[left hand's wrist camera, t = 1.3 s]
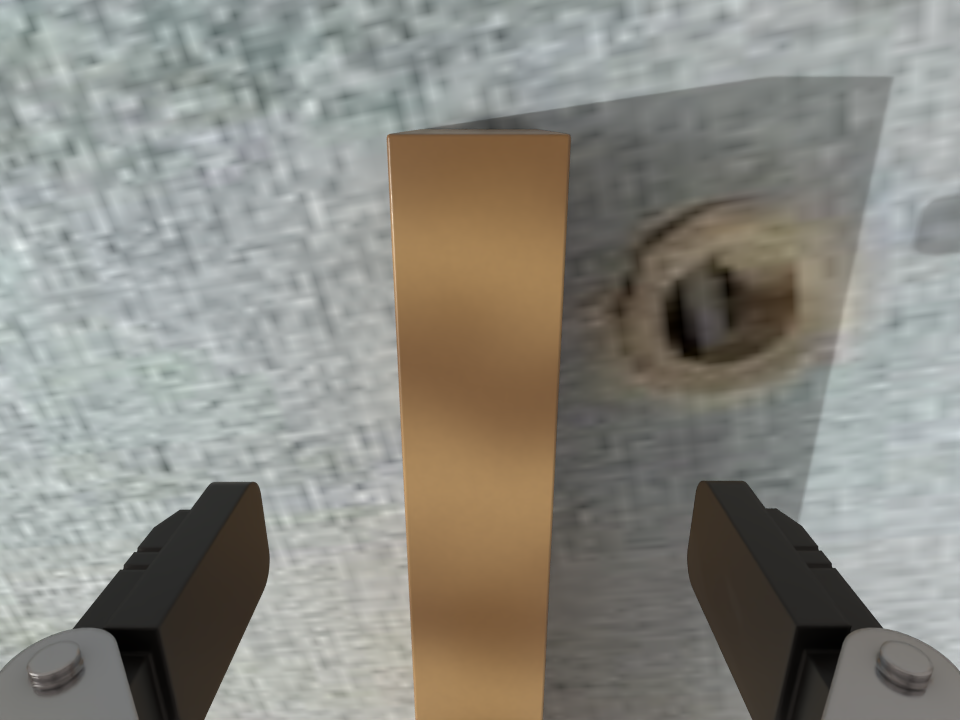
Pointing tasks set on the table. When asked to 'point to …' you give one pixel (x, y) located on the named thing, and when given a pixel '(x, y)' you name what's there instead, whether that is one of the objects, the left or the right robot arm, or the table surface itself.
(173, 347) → the table surface
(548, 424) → the post
